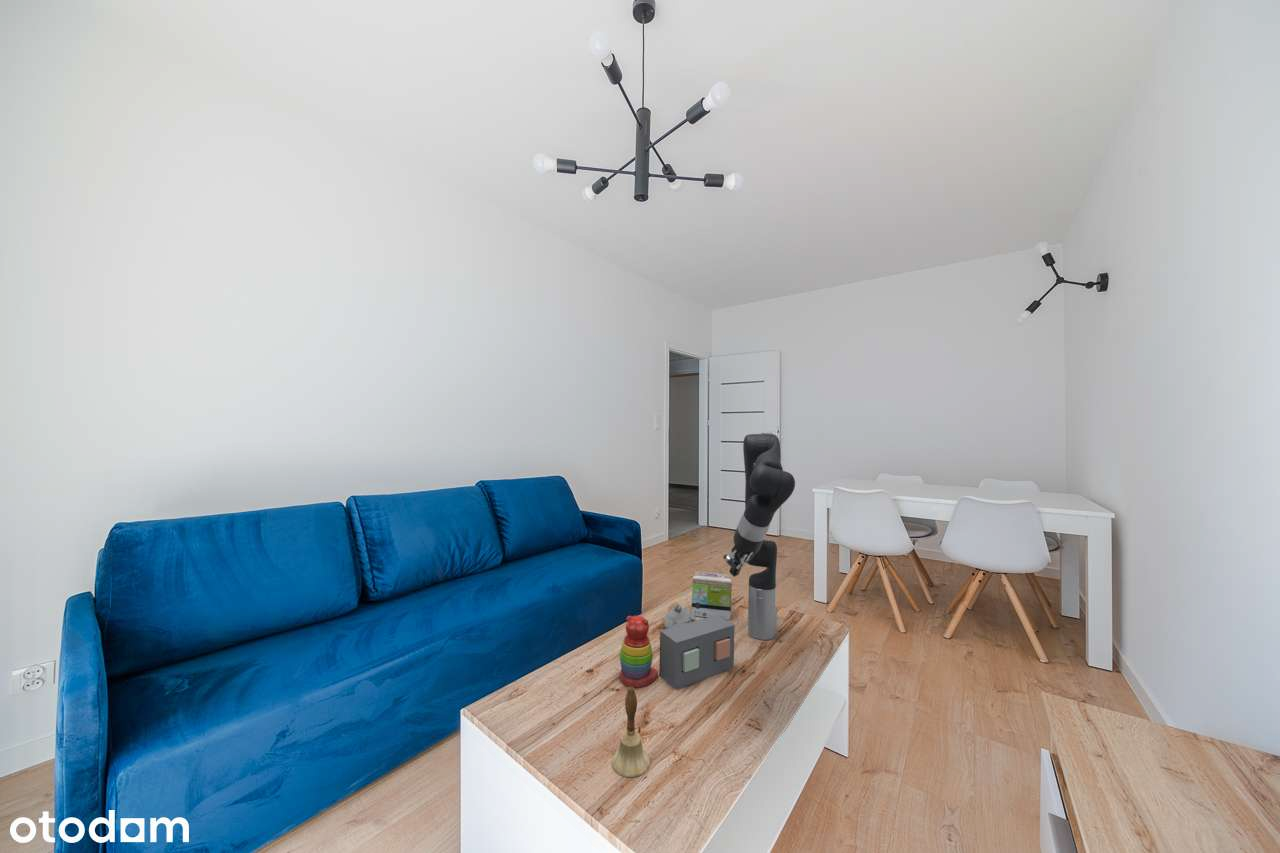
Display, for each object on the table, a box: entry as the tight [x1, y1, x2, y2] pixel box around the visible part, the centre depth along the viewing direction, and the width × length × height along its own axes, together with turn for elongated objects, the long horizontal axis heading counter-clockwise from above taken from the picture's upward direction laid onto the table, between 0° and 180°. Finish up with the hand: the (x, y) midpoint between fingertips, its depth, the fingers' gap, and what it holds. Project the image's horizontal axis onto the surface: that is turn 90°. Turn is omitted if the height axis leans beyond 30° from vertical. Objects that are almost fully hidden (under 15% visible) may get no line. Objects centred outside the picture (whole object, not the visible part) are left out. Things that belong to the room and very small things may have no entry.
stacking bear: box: [619, 615, 659, 688], centre depth 125 cm, size 11×10×18 cm
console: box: [658, 615, 736, 690], centre depth 129 cm, size 22×8×13 cm, turn 122°
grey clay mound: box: [663, 603, 698, 630], centre depth 155 cm, size 12×12×11 cm
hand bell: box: [611, 686, 651, 778], centre depth 93 cm, size 8×8×16 cm
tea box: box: [691, 570, 733, 621], centre depth 170 cm, size 15×10×15 cm, turn 81°
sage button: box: [682, 647, 699, 672], centre depth 123 cm, size 5×4×5 cm
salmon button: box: [714, 637, 730, 661], centre depth 130 cm, size 5×4×5 cm
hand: (733, 573), depth 124 cm, fingers closed
